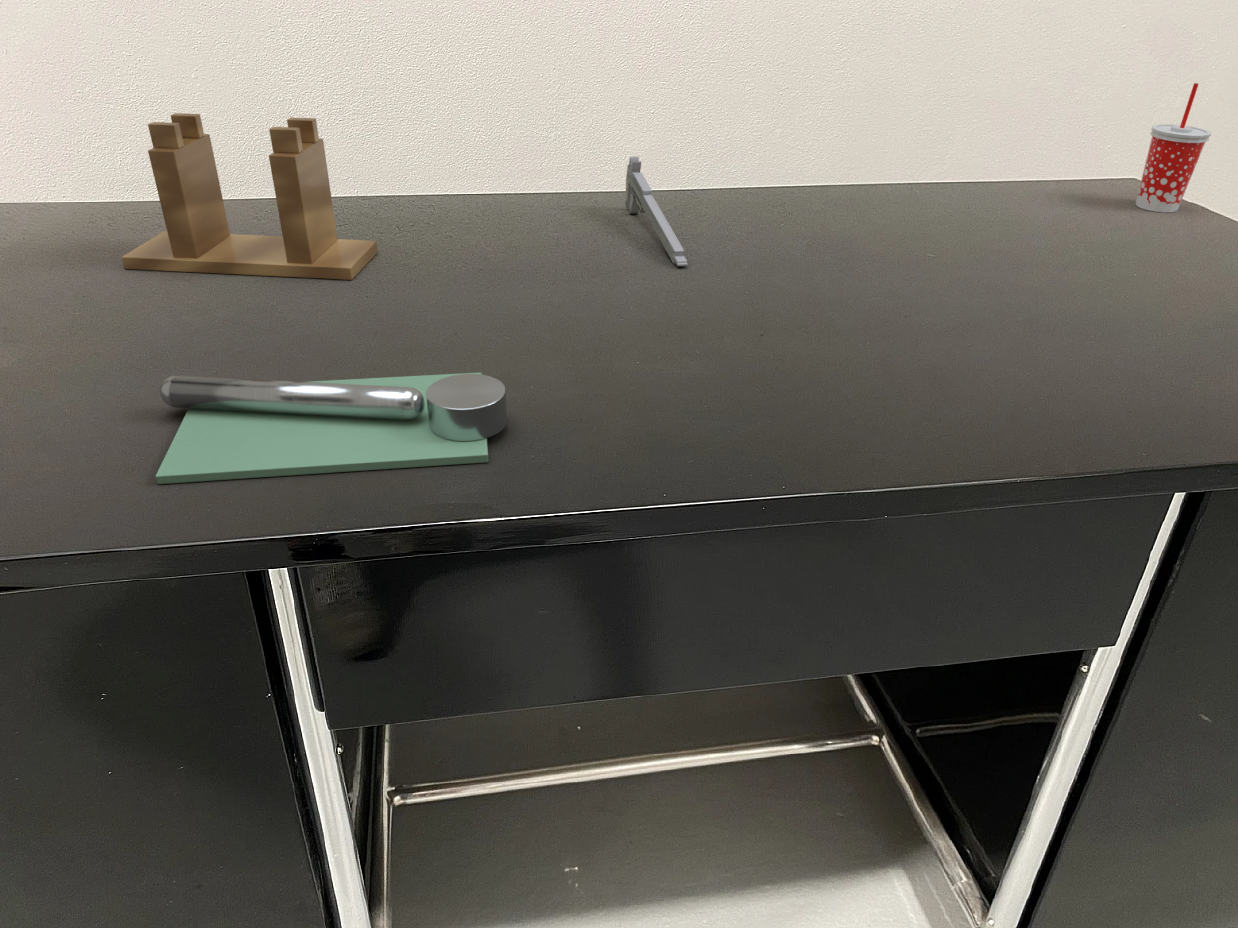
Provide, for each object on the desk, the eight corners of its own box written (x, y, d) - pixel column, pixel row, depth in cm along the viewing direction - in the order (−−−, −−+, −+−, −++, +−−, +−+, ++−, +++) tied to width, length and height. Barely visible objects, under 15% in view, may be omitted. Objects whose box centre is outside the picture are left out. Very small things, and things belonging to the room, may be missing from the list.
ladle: (146, 424, 62) (137, 392, 60) (184, 389, 66) (176, 358, 65) (499, 443, 60) (497, 411, 59) (513, 406, 65) (512, 375, 63)
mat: (157, 484, 57) (154, 476, 56) (200, 394, 67) (198, 387, 66) (488, 462, 59) (488, 454, 59) (482, 379, 69) (481, 372, 69)
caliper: (624, 209, 107) (625, 153, 104) (633, 209, 108) (635, 153, 104) (677, 269, 91) (681, 205, 87) (688, 268, 91) (692, 204, 88)
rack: (124, 269, 88) (85, 125, 81) (166, 242, 95) (133, 108, 88) (352, 280, 86) (331, 135, 80) (378, 252, 93) (361, 116, 86)
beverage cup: (1182, 217, 109) (1225, 90, 101) (1125, 208, 112) (1163, 84, 104) (1186, 205, 113) (1228, 82, 106) (1131, 197, 116) (1168, 77, 109)
